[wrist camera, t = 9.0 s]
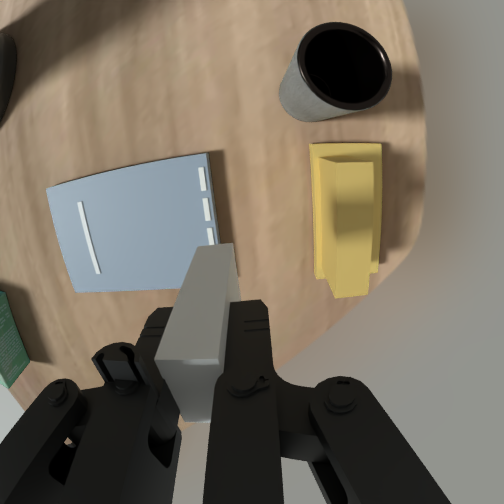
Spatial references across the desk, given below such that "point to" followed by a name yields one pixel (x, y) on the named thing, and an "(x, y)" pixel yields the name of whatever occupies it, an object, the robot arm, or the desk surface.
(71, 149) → the desk surface
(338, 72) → the gray cylinder
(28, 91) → the desk surface
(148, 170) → the ticket
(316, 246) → the yellow stepped block
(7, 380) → the box
